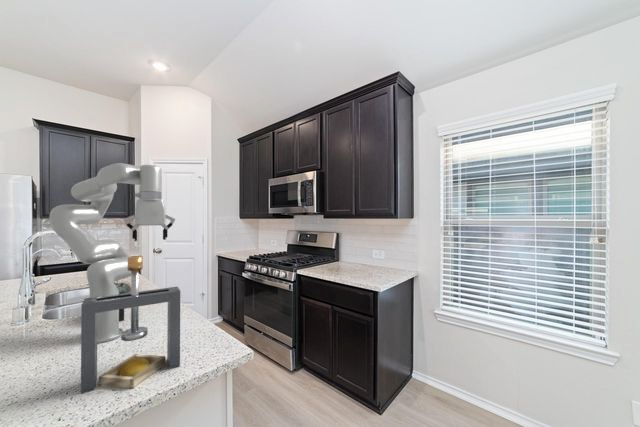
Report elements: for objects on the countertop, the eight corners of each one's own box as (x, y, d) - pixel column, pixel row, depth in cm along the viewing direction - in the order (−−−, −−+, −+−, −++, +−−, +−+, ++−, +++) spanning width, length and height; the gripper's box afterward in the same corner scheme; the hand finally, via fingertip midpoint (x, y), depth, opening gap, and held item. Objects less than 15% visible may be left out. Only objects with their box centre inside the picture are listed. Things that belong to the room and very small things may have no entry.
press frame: (84, 381, 83) (84, 298, 83) (176, 357, 97) (177, 286, 97) (80, 394, 77) (81, 304, 77) (179, 366, 91) (180, 291, 92)
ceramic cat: (127, 320, 131) (127, 278, 131) (110, 324, 126) (111, 281, 126) (117, 311, 144) (117, 272, 144) (101, 314, 139) (101, 274, 139)
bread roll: (121, 385, 81) (121, 372, 81) (118, 372, 88) (118, 360, 88) (153, 375, 87) (153, 362, 87) (148, 363, 94) (148, 351, 94)
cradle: (98, 385, 81) (98, 376, 81) (134, 361, 95) (134, 353, 95) (133, 388, 80) (133, 379, 80) (165, 363, 93) (165, 356, 93)
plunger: (121, 334, 88) (121, 256, 88) (147, 329, 92) (147, 254, 92) (120, 343, 82) (121, 259, 83) (148, 337, 86) (148, 257, 87)
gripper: (123, 195, 101) (123, 242, 101) (176, 197, 111) (176, 239, 111) (123, 196, 107) (123, 240, 107) (174, 198, 117) (173, 238, 117)
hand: (150, 240), depth 109 cm, fingers open, 9 cm apart
